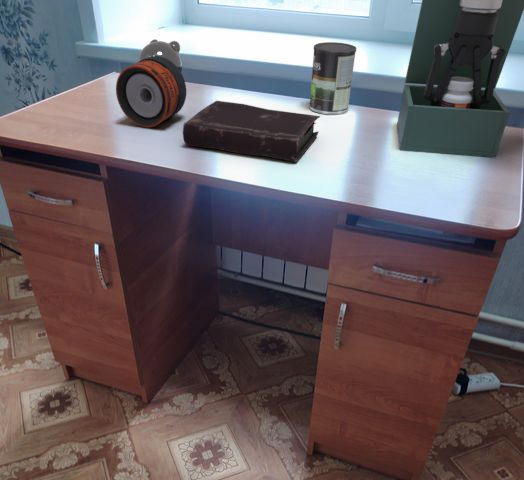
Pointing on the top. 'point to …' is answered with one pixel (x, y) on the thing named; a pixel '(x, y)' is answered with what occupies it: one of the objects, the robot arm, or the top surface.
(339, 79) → the coffee can
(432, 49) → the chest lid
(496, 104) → the chest
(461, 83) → the pill bottle
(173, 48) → the piggy bank
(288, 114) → the diary
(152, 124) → the oil filter
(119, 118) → the top surface
